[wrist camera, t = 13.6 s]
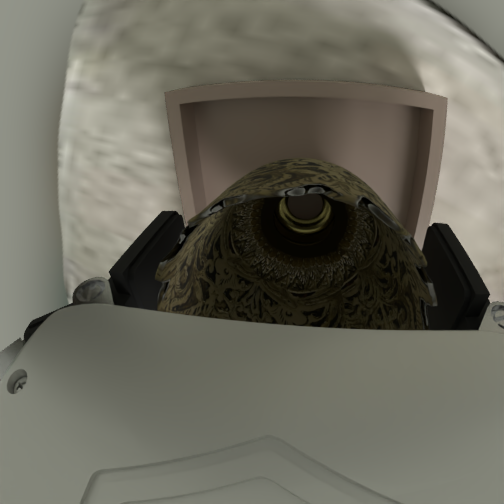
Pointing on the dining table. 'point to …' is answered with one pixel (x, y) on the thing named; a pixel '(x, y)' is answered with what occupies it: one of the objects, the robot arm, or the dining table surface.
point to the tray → (310, 140)
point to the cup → (298, 256)
